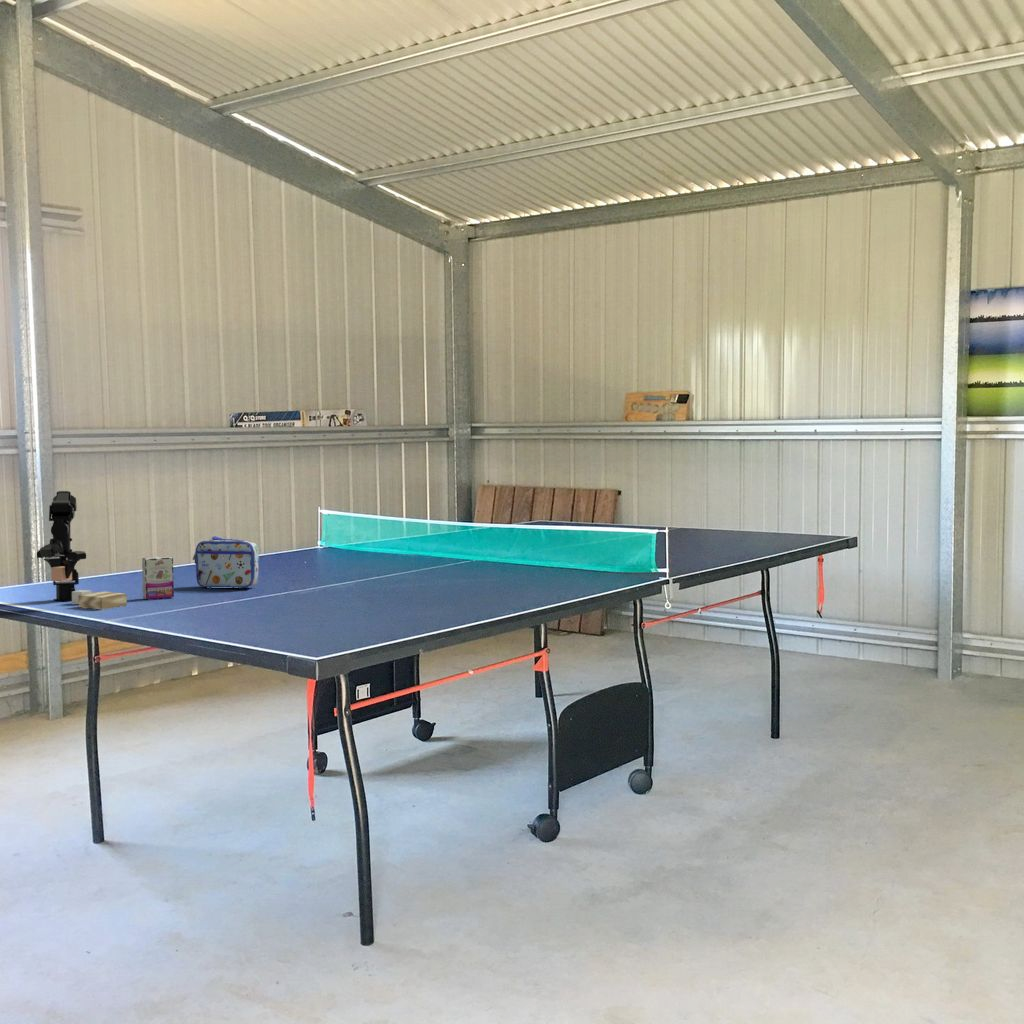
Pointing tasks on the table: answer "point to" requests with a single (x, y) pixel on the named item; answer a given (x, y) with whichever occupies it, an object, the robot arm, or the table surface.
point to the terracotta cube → (59, 574)
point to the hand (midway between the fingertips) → (61, 577)
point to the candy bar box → (157, 577)
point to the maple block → (102, 600)
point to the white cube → (80, 592)
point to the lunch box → (226, 563)
